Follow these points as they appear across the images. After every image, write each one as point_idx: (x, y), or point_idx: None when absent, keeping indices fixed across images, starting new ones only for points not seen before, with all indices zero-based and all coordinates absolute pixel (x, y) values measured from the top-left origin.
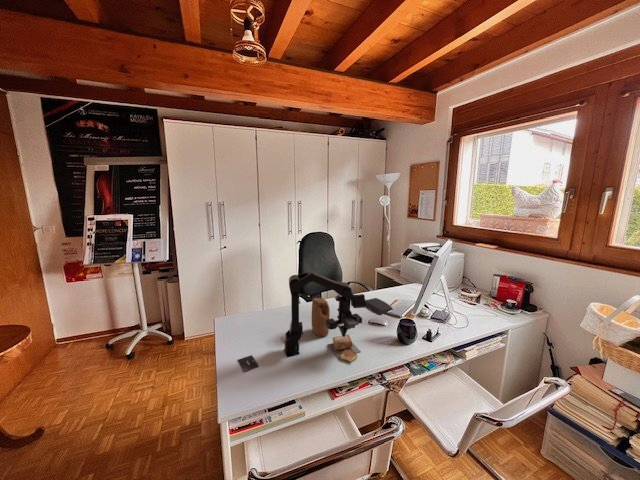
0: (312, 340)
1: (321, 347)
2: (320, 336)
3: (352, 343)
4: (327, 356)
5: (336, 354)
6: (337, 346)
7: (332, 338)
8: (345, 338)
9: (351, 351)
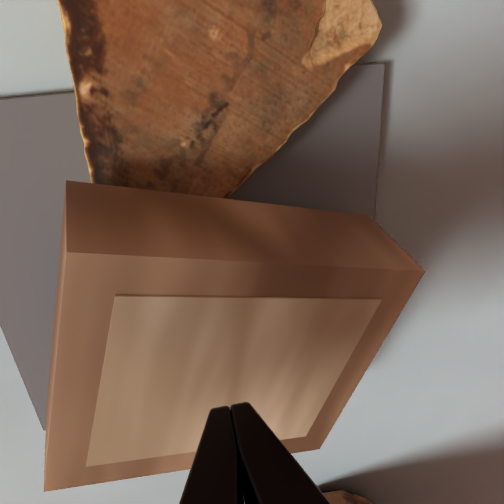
0: (457, 450)
1: (444, 337)
2: (357, 495)
3: (17, 339)
4: (484, 155)
5: (368, 149)
6: (360, 244)
7: (325, 436)
8: (160, 390)
9: (130, 80)
